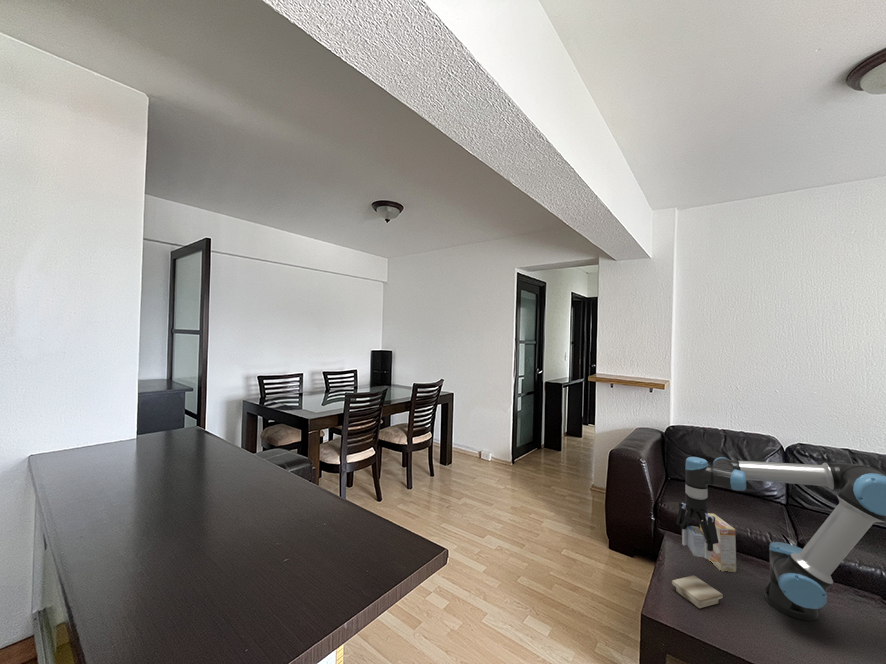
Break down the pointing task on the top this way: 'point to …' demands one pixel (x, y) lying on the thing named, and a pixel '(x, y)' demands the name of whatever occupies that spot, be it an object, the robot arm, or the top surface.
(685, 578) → the stand
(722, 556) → the coffeecake box
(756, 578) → the top surface
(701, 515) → the robot arm
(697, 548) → the medicine box
